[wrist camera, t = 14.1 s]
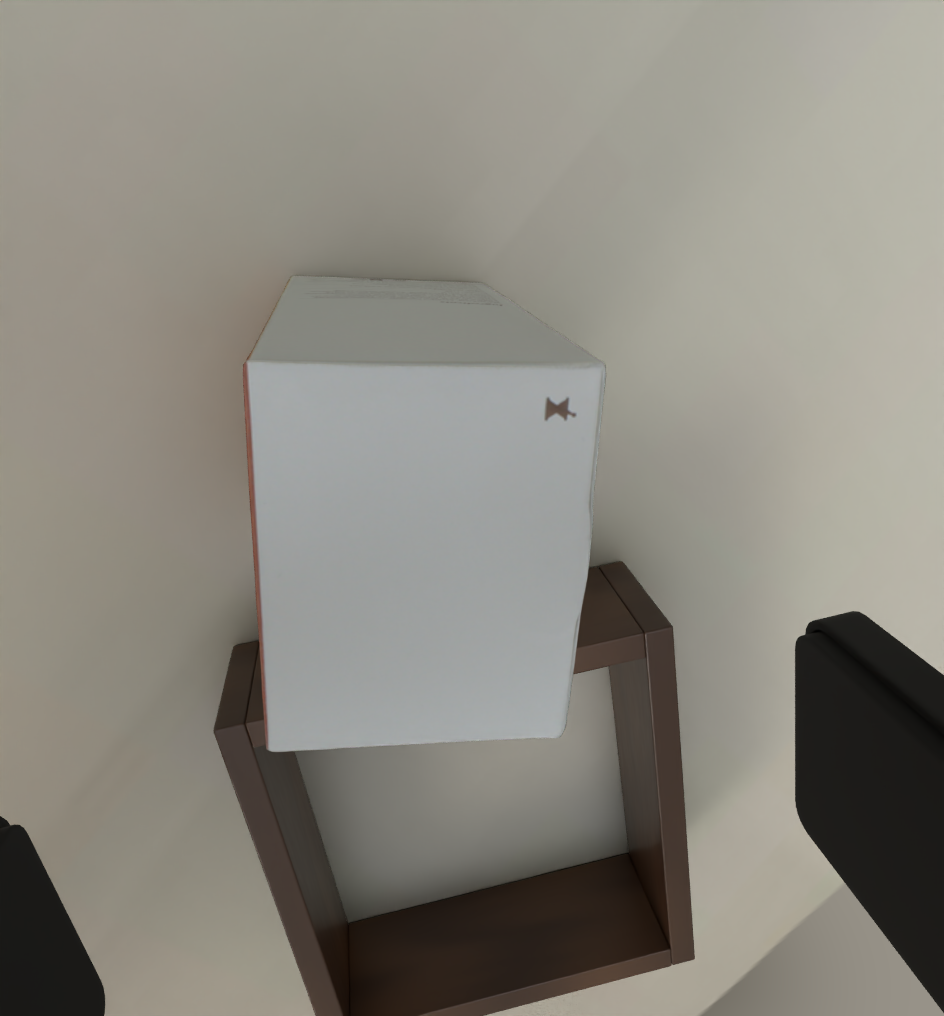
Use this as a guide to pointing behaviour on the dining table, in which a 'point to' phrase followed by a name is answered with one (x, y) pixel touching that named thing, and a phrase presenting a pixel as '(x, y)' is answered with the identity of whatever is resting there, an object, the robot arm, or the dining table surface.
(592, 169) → the dining table surface
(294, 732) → the small box
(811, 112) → the dining table surface
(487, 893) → the wooden frame
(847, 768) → the robot arm
